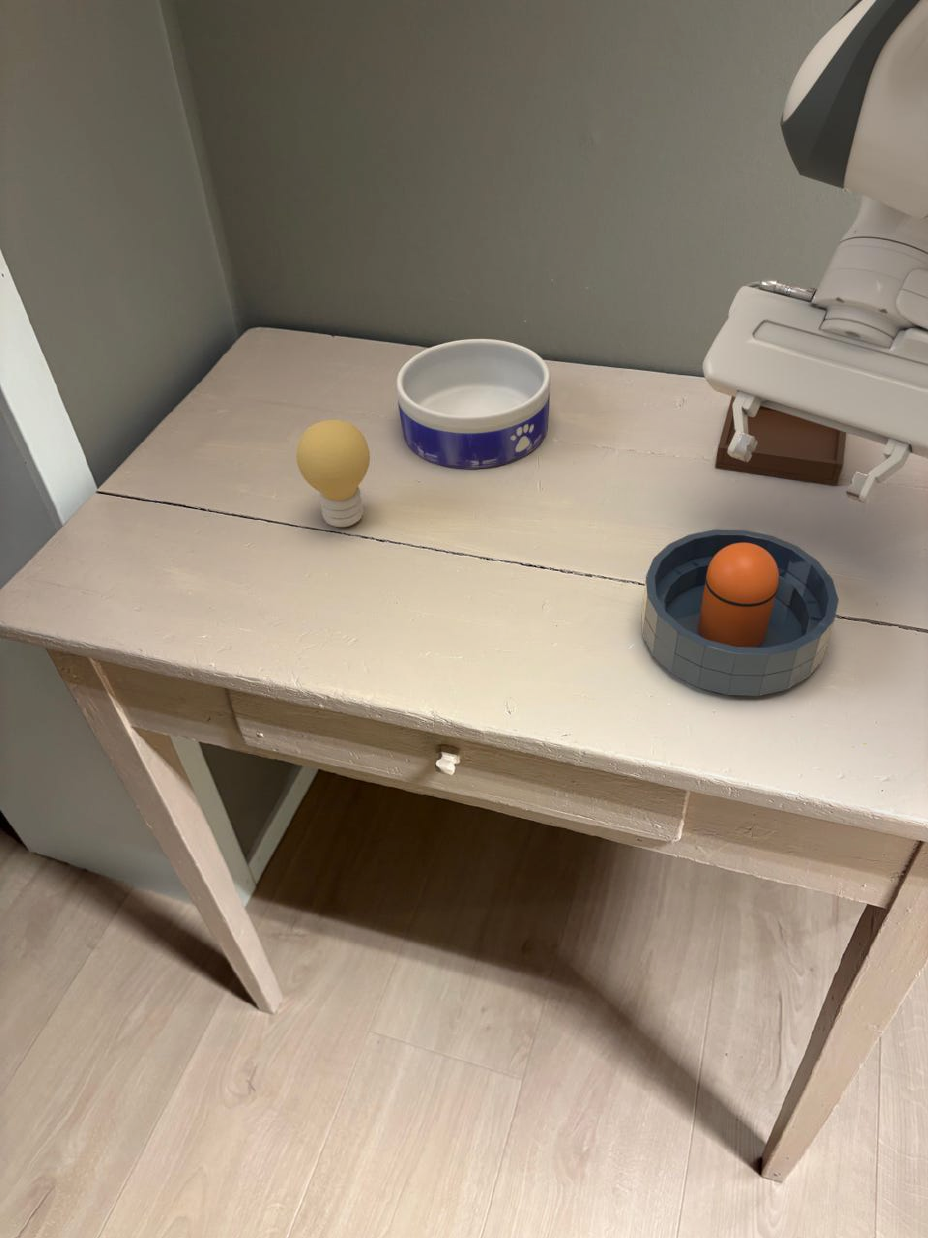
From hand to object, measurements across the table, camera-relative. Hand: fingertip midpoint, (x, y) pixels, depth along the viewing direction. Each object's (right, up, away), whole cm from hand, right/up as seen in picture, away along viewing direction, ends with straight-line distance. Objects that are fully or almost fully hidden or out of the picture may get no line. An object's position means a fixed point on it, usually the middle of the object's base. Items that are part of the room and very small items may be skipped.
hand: (794, 477), depth 72 cm
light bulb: (-36, -1, +17) cm, 40 cm away
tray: (+6, +7, +22) cm, 24 cm away
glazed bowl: (-4, -12, +4) cm, 13 cm away
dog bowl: (-24, +9, +27) cm, 37 cm away
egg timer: (-4, -11, +3) cm, 12 cm away
